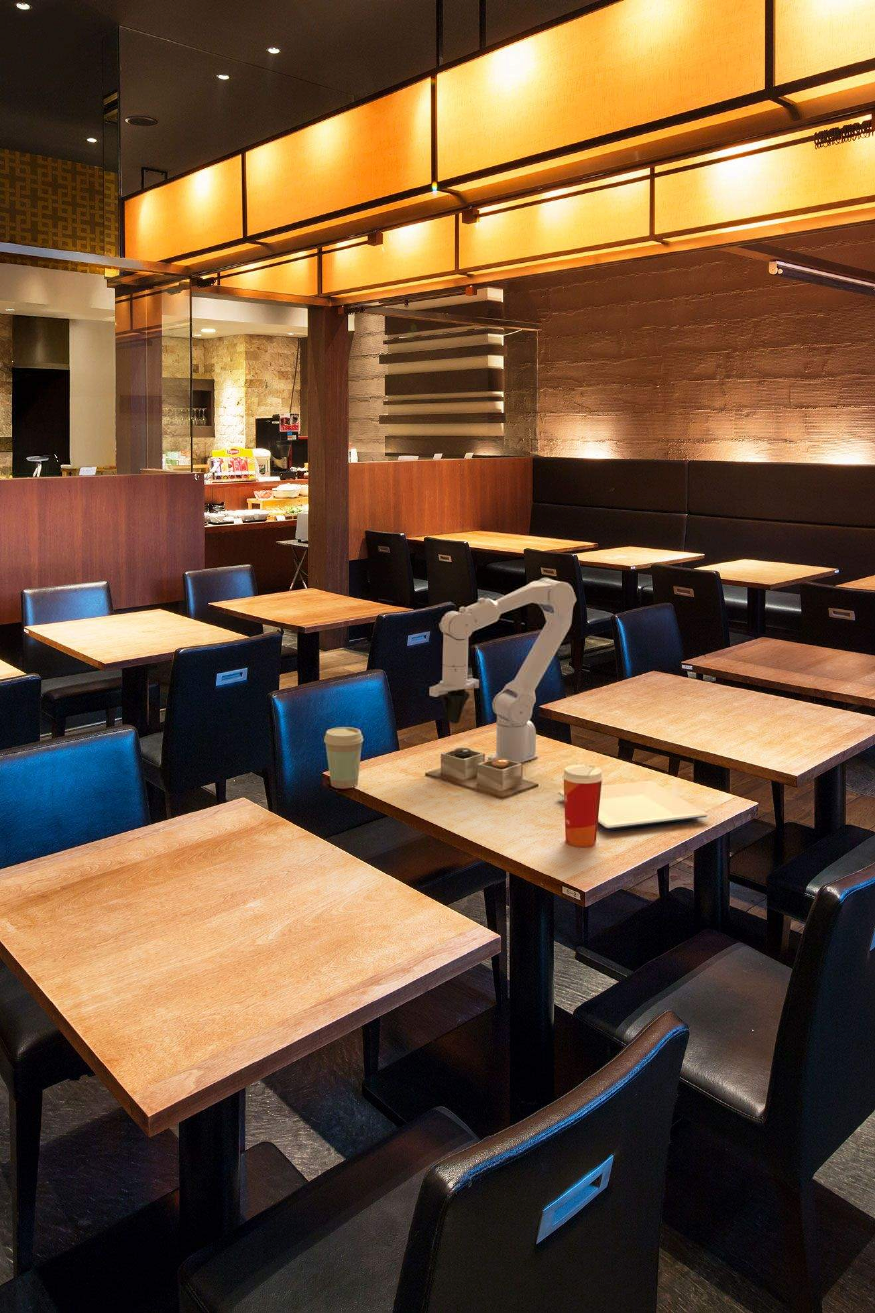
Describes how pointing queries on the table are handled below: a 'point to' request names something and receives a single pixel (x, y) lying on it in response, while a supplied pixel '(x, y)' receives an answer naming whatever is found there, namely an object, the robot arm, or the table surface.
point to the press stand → (482, 775)
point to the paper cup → (581, 804)
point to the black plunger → (462, 753)
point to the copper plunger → (500, 763)
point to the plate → (641, 805)
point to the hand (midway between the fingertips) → (453, 722)
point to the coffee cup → (343, 755)
